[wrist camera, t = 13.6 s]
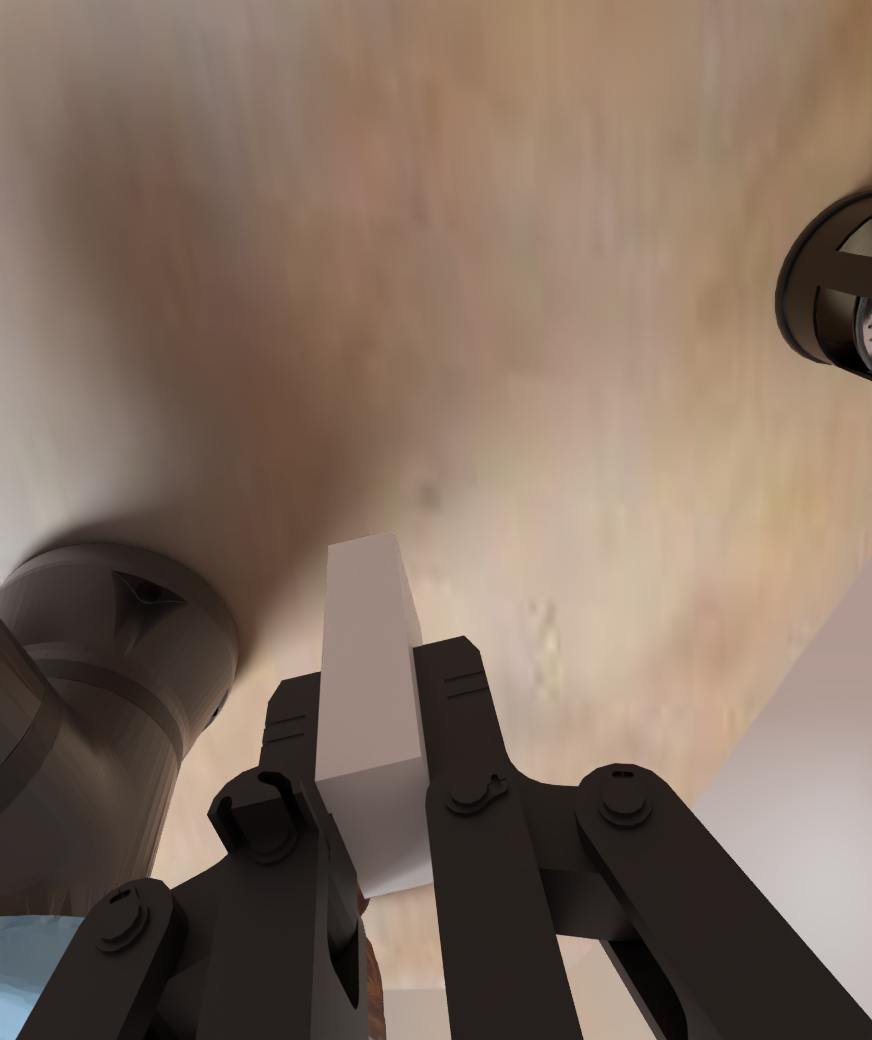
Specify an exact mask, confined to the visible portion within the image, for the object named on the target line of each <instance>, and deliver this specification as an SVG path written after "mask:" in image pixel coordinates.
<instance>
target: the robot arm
mask: <svg viewBox="0 0 872 1040" xmlns="http://www.w3.org/2000/svg"><path fill="white" fill-rule="evenodd" d="M238 655H239V645H238V637H237V632H236V629H235V625H234V623H233V620H232V618H231V616H230V614H229V612H228V610H227V608H226V607H225V605H224V603H223V602H222V601H221V599H220V598H219V597H218V595H217V594H216V593H215V592H214V591H213V590H212V589H211V588H210V587H209V586H208V585H207V584H206V583H205V582H204V581H203V580H202V579H200V578H199V577H198V576H197V575H195V574H194V573H192V572H191V571H190V570H188V569H187V568H185V567H183V566H182V565H180V564H178V563H176V562H174V561H172V560H170V559H168V558H166V557H163V556H161V555H158V554H156V553H153V552H150V551H147V550H143V549H139V548H135V547H131V546H125V545H118V544H106V543H90V544H79V545H72V546H67V547H62V548H58V549H55V550H52V551H49V552H46V553H43V554H41V555H39V556H37V557H35V558H33V559H31V560H29V561H28V562H26V563H24V564H23V565H21V566H20V567H19V568H18V569H16V570H15V571H14V572H13V573H12V574H11V575H10V576H9V577H8V578H7V579H6V580H5V581H4V582H3V584H2V585H1V586H0V1040H369V1038H368V995H367V952H366V934H365V929H364V925H363V921H362V919H361V917H360V914H359V912H358V910H357V882H358V884H359V886H360V889H361V891H362V893H363V896H364V898H365V899H367V898H371V897H376V896H380V895H384V894H388V893H392V892H397V891H401V890H405V889H409V888H413V887H418V886H422V885H426V884H430V883H434V889H435V898H436V907H437V916H438V925H439V934H440V942H441V951H442V960H443V969H444V978H445V987H446V995H447V1004H448V1013H449V1022H450V1031H451V1039H452V1040H583V1036H582V1032H581V1028H580V1025H579V1021H578V1017H577V1013H576V1009H575V1005H574V1002H573V998H572V994H571V990H570V986H569V983H568V979H567V975H566V971H565V967H564V964H563V960H562V956H561V952H560V948H559V945H558V941H557V937H556V934H558V935H566V936H574V937H582V938H590V939H598V940H599V942H600V943H601V945H602V947H603V948H604V950H605V952H606V954H607V955H608V957H609V959H610V960H611V962H612V964H613V965H614V967H615V969H616V971H617V972H618V974H619V976H620V977H621V979H622V981H623V983H624V984H625V986H626V988H627V989H628V991H629V993H630V994H631V996H632V998H633V999H634V1001H635V1003H636V1005H637V1006H638V1008H639V1010H640V1012H641V1013H642V1015H643V1017H644V1018H645V1020H646V1022H647V1023H648V1025H649V1027H650V1029H651V1030H652V1032H653V1034H654V1035H655V1037H656V1039H657V1040H872V1020H871V1019H870V1017H869V1016H868V1015H867V1014H866V1013H865V1012H864V1010H863V1009H862V1008H861V1007H860V1006H859V1005H858V1004H857V1002H856V1001H855V1000H854V999H853V998H852V997H851V995H850V994H849V993H848V992H847V991H846V990H845V988H844V987H843V986H842V985H841V984H840V983H839V982H838V981H837V979H836V978H835V977H834V976H833V975H832V973H831V972H830V971H829V970H828V969H827V968H826V967H825V966H824V964H823V963H822V962H821V961H820V960H819V958H818V957H817V956H816V955H815V954H814V953H813V951H812V950H811V949H810V948H809V947H808V946H807V945H806V943H805V942H804V941H803V940H802V939H801V938H800V936H799V935H798V934H797V933H796V932H795V931H794V930H793V929H792V927H791V926H790V925H789V924H788V923H787V921H786V920H785V919H784V918H783V917H782V916H781V914H780V913H779V912H778V911H777V910H776V909H775V908H774V906H773V905H772V904H771V903H770V902H769V901H768V899H767V898H766V897H765V896H764V895H763V894H762V893H761V891H760V890H759V889H758V888H757V887H756V886H755V884H753V882H752V881H751V880H750V879H749V877H748V876H747V875H746V874H745V873H744V872H743V871H742V869H741V868H740V867H739V866H738V865H737V864H736V862H735V861H734V860H733V859H732V858H731V857H730V856H729V854H728V853H727V852H726V851H725V850H724V849H723V847H722V846H721V845H720V844H719V843H718V842H717V840H716V839H715V838H714V837H713V836H712V835H711V834H710V833H709V831H708V830H707V829H706V828H705V827H704V825H703V824H702V823H701V822H700V821H699V820H698V819H697V817H696V816H695V815H694V814H693V813H692V812H691V810H690V809H689V808H688V807H687V806H686V805H685V803H684V802H683V801H682V800H681V799H680V798H679V797H678V795H677V794H676V793H675V792H674V791H673V790H672V788H671V787H670V786H669V785H668V784H667V783H666V782H665V781H664V780H663V779H661V778H660V777H659V776H658V775H656V774H655V773H654V772H653V771H651V770H648V769H645V768H643V767H640V766H637V765H634V764H619V763H614V764H610V765H607V766H603V767H599V768H597V769H595V770H594V771H592V772H591V773H590V774H588V775H587V776H586V777H584V778H583V779H582V781H581V783H580V784H579V786H561V785H551V784H545V783H540V782H538V781H535V780H533V779H530V778H528V777H527V776H525V775H524V774H522V773H521V772H519V771H518V770H517V769H516V767H515V766H514V765H513V764H512V763H511V761H510V759H509V757H508V754H507V752H506V749H505V745H504V741H503V738H502V734H501V730H500V726H499V722H498V719H497V715H496V711H495V707H494V704H493V700H492V696H491V692H490V689H489V685H488V681H487V677H486V674H485V670H484V666H483V662H482V658H481V655H480V651H479V650H478V649H477V648H476V647H475V646H474V645H473V644H472V643H471V642H470V641H469V640H468V639H467V638H466V637H465V636H460V637H456V638H451V639H447V640H443V641H439V642H435V643H430V644H426V645H423V642H422V636H421V629H420V624H419V620H418V616H417V613H416V609H415V605H414V602H413V598H412V594H411V591H410V587H409V583H408V580H407V576H406V572H405V569H404V565H403V561H402V558H401V554H400V550H399V547H398V543H397V539H396V536H395V532H394V530H391V531H387V532H382V533H378V534H374V535H370V536H365V537H361V538H357V539H353V540H349V541H344V542H340V543H336V544H332V545H328V561H327V579H326V596H325V614H324V631H323V649H322V666H321V671H320V672H316V673H312V674H307V675H303V676H299V677H295V678H291V679H286V680H282V681H281V683H280V685H279V686H278V688H277V689H276V691H275V692H274V694H273V696H272V697H271V699H270V700H269V702H268V708H267V714H266V721H265V727H266V729H264V734H263V740H262V744H263V747H261V754H260V760H259V766H257V767H255V768H252V769H249V770H247V771H244V772H242V773H241V774H239V775H238V776H236V777H235V778H234V779H232V780H231V781H229V782H228V783H227V784H226V785H225V786H224V787H223V788H222V789H221V791H220V792H219V793H218V794H217V795H216V797H215V798H214V799H213V802H212V804H211V806H210V809H209V811H208V813H207V816H208V818H209V819H210V821H211V823H212V825H213V827H214V828H215V830H216V832H217V834H218V836H219V837H220V839H221V841H222V843H223V845H224V846H225V848H226V850H227V852H228V854H227V855H226V856H225V857H224V858H223V859H222V860H221V861H220V862H218V863H217V864H215V865H214V866H212V867H211V868H209V869H208V870H206V871H204V872H202V873H200V874H199V875H197V876H195V877H193V878H191V879H189V880H188V881H186V882H184V883H182V884H180V885H178V886H176V887H175V888H173V889H171V890H170V889H169V888H168V887H167V886H166V885H165V884H164V882H163V881H161V880H157V879H153V878H150V876H151V872H152V868H153V865H154V861H155V857H156V853H157V850H158V846H159V842H160V838H161V835H162V831H163V827H164V823H165V820H166V816H167V813H168V809H169V805H170V802H171V798H172V795H173V791H174V787H175V784H176V780H177V777H178V773H179V770H180V766H181V762H182V760H183V759H184V758H185V756H186V755H187V754H188V752H189V751H190V749H191V748H192V746H193V745H194V743H195V741H196V739H197V738H198V736H199V735H200V734H201V733H202V732H203V731H204V730H205V729H206V728H207V727H208V726H209V725H210V724H211V723H212V722H213V720H214V719H215V718H216V717H217V715H218V714H219V713H220V711H221V710H222V708H223V706H224V704H225V703H226V701H227V698H228V696H229V694H230V691H231V688H232V685H233V681H234V676H235V672H236V667H237V663H238Z"/></svg>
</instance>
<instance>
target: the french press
mask: <svg viewBox="0 0 872 1040" xmlns="http://www.w3.org/2000/svg"><path fill="white" fill-rule="evenodd" d="M870 219H872V190H869V191H865V192H862V193H858V194H854V195H852V196H850V197H847V198H845V199H843V200H841V201H839V202H837V203H835V204H834V205H832V206H831V207H829V208H828V209H826V210H825V211H824V212H822V213H821V214H820V215H819V216H818V217H816V218H815V219H814V220H813V221H812V222H811V223H810V224H809V225H808V226H807V227H806V228H805V230H804V231H803V232H802V233H801V235H800V236H799V237H798V239H797V240H796V241H795V243H794V244H793V246H792V248H791V250H790V251H789V253H788V255H787V257H786V258H785V261H784V263H783V266H782V269H781V271H780V274H779V277H778V282H777V287H776V292H775V313H776V318H777V324H778V326H779V329H780V331H781V333H782V336H783V338H784V339H785V340H786V342H787V343H788V344H789V346H790V347H791V348H792V349H793V350H794V351H796V352H797V353H798V354H800V355H801V356H802V357H805V358H807V359H809V360H812V361H814V362H816V363H821V364H827V365H834V366H836V367H839V368H841V369H844V370H846V371H848V372H851V373H853V374H856V375H858V376H861V377H863V378H865V379H868V380H870V381H872V257H868V256H862V255H857V254H851V253H846V252H840V251H839V250H840V248H841V247H842V246H843V245H844V243H845V242H846V241H847V240H848V239H849V237H850V236H851V235H852V234H854V233H855V232H856V231H857V230H858V229H859V228H860V227H861V226H862V225H863V224H864V223H866V222H867V221H869V220H870ZM820 286H821V287H825V288H829V289H833V290H836V291H840V292H844V293H848V294H852V295H856V299H855V303H854V308H853V318H852V330H853V338H854V341H852V342H848V343H833V342H827V341H825V340H823V339H821V338H820V337H819V334H818V329H817V322H816V308H817V299H818V295H819V291H820Z"/></svg>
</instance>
